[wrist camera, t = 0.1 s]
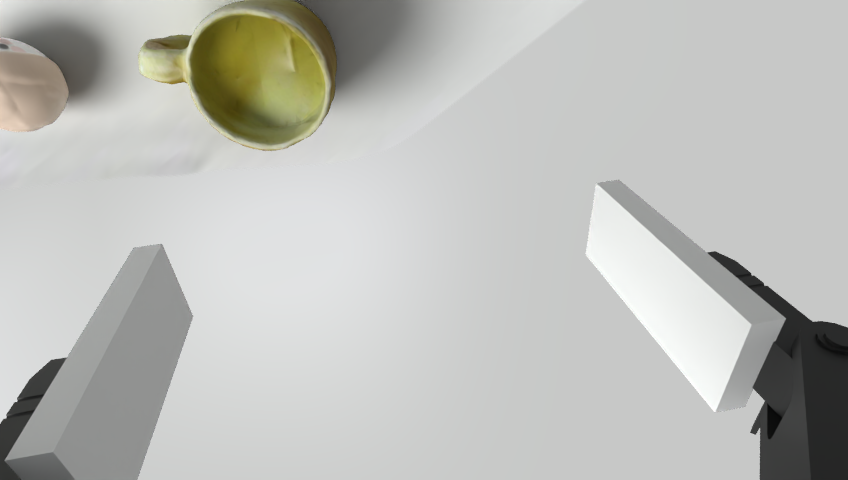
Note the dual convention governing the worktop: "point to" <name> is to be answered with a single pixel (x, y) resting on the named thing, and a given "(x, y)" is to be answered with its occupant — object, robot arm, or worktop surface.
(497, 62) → the worktop surface
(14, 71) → the garlic bulb
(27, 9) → the worktop surface
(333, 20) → the worktop surface
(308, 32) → the mug
